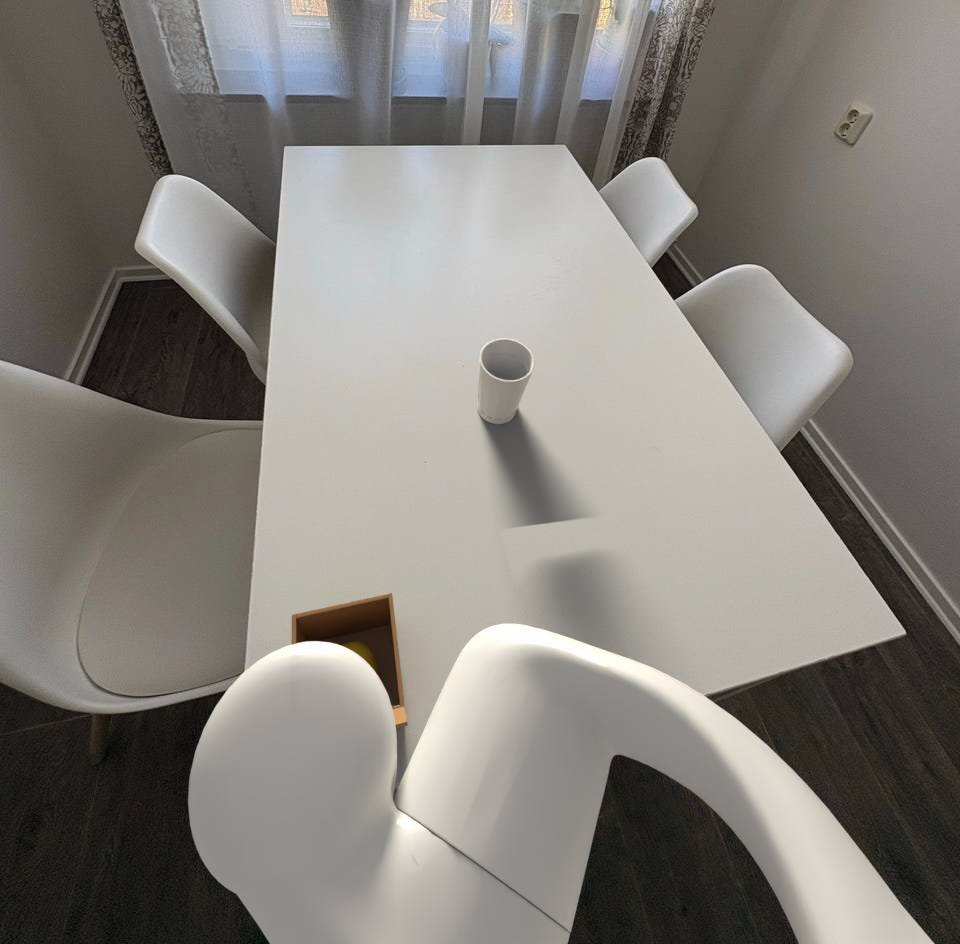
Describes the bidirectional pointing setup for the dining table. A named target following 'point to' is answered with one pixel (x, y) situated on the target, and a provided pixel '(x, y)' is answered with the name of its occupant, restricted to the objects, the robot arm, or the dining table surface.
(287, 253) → the dining table surface
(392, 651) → the open wooden box
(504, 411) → the cup
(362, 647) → the lemon
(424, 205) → the dining table surface
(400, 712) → the flap
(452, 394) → the dining table surface
